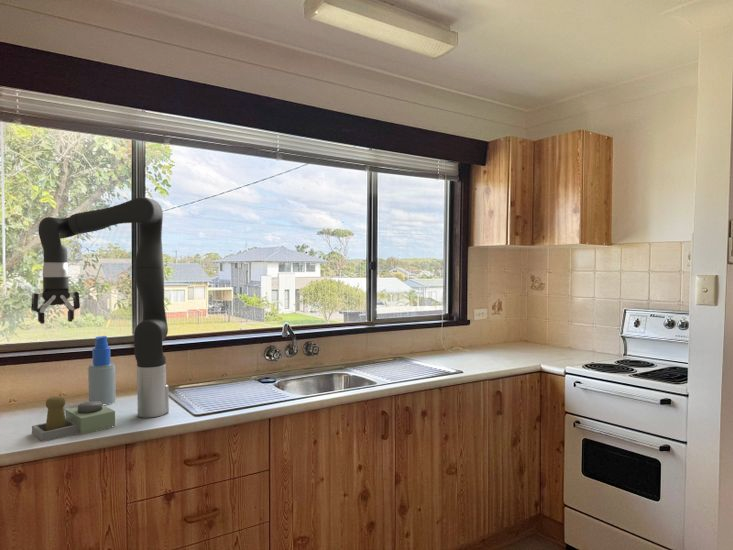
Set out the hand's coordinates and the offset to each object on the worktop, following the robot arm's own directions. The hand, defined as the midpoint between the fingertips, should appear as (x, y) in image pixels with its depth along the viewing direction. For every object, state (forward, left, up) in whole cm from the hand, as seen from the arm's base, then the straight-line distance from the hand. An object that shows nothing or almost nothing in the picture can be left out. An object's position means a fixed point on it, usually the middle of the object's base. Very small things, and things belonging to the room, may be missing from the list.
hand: (56, 322), depth 173 cm
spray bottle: (-16, -4, -32) cm, 36 cm away
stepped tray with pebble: (+2, +21, -32) cm, 38 cm away
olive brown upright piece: (+7, +21, -32) cm, 39 cm away
